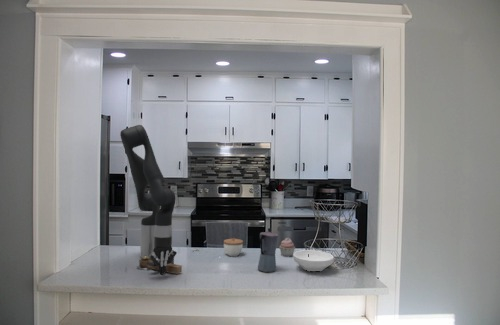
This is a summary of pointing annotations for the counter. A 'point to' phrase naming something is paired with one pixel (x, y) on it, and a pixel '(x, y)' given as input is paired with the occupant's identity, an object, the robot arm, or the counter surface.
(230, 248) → the lidded jar
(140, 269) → the pin base
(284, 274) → the counter surface
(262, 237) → the moka pot
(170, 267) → the walnut link
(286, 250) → the cupcake
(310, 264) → the bowl
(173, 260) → the keeper
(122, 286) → the counter surface
